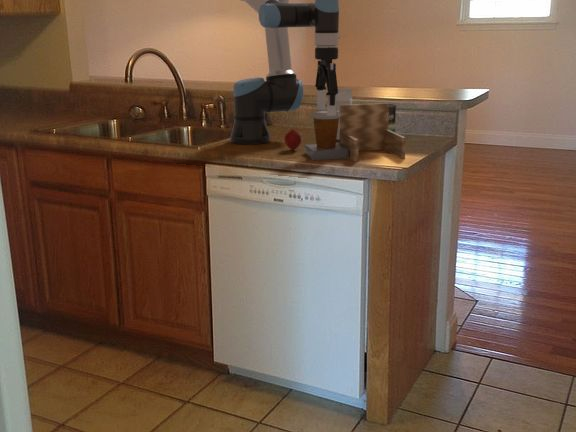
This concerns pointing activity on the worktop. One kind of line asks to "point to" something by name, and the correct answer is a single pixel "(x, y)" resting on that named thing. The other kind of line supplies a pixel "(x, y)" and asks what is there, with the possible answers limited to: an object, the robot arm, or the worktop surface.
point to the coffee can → (392, 117)
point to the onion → (292, 139)
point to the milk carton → (342, 103)
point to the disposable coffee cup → (325, 128)
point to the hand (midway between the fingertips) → (326, 112)
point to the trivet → (326, 152)
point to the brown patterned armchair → (368, 130)
